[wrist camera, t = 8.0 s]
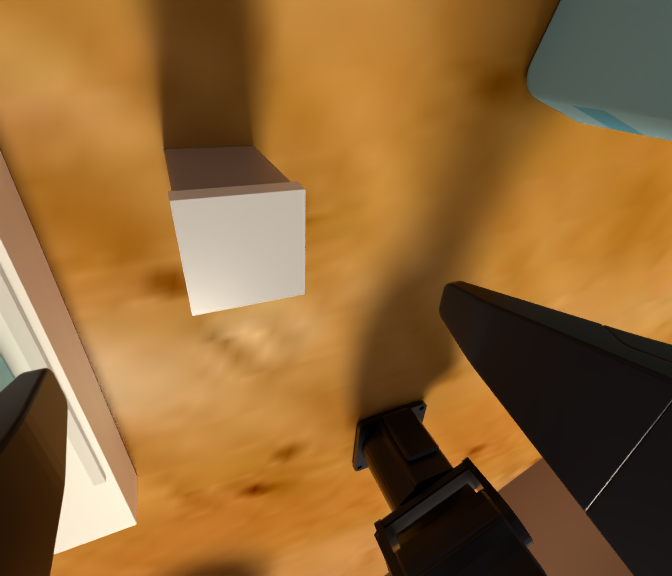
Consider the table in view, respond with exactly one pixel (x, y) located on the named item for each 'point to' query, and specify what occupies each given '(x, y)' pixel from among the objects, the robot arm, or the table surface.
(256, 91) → the table surface
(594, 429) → the robot arm
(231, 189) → the white rectangular block
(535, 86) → the data package
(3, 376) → the block
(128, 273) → the table surface
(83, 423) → the socket strip
